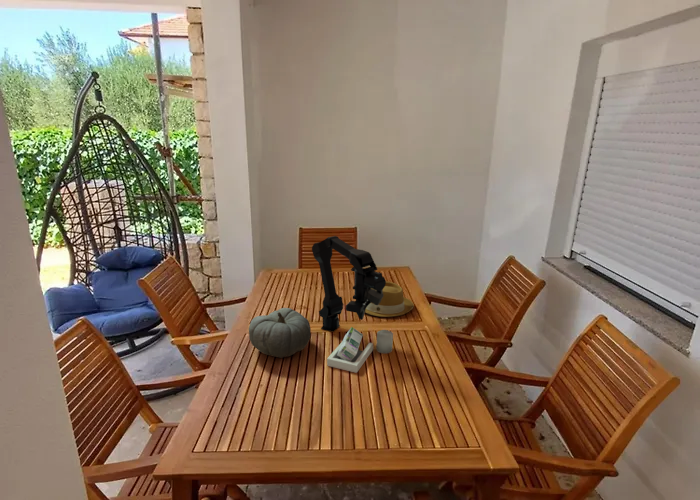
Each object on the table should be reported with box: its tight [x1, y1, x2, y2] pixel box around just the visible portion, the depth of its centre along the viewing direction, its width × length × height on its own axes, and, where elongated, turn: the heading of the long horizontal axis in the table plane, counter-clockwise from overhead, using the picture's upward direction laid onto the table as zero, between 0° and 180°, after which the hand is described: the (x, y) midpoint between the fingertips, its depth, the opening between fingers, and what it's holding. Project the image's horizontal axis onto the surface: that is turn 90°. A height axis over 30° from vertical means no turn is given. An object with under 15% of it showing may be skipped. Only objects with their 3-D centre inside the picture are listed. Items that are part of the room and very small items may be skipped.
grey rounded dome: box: [375, 329, 394, 354], centre depth 165 cm, size 6×6×7 cm
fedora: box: [365, 281, 415, 318], centre depth 204 cm, size 27×29×12 cm
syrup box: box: [337, 326, 364, 362], centre depth 161 cm, size 6×6×14 cm
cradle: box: [326, 340, 374, 374], centre depth 160 cm, size 12×18×3 cm
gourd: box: [248, 307, 312, 359], centre depth 165 cm, size 25×25×17 cm
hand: (361, 319), depth 167 cm, fingers closed
